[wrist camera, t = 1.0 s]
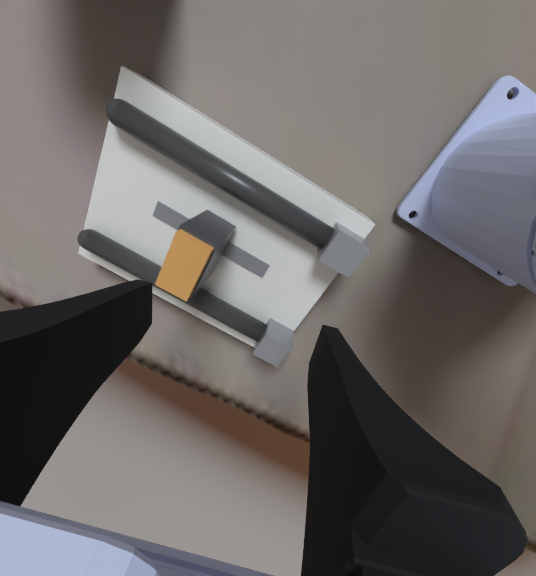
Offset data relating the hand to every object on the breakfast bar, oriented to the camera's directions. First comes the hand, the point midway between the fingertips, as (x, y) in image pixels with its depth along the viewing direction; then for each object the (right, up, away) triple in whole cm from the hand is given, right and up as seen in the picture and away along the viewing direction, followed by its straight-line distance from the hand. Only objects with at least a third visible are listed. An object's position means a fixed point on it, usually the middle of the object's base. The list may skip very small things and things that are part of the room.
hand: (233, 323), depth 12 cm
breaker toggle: (-2, +4, +6) cm, 8 cm away
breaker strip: (-2, +5, +8) cm, 10 cm away
